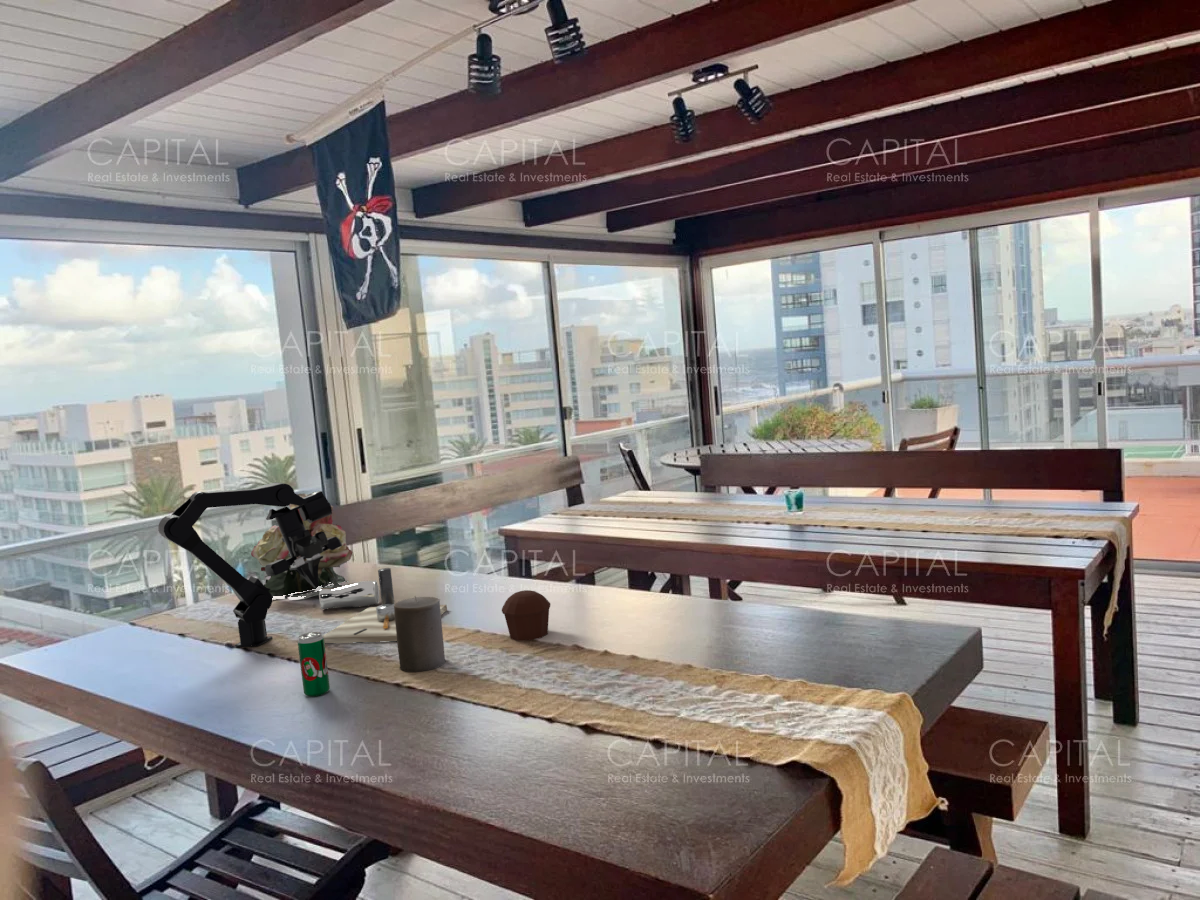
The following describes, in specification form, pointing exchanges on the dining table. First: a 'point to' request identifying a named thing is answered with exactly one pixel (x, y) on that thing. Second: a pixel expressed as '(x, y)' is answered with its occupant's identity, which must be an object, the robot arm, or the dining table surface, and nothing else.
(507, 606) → the muffin
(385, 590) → the cam lever
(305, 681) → the soda can
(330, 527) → the rose bouquet
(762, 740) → the dining table surface
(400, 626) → the pillar candle
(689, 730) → the dining table surface
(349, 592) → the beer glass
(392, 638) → the dial board
